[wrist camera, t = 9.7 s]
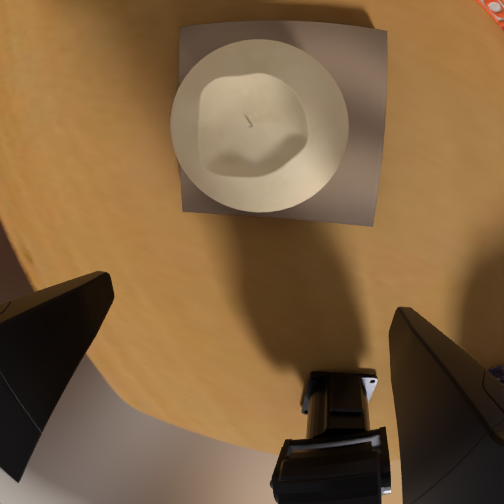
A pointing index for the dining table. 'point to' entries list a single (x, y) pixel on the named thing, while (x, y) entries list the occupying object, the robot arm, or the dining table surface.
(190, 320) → the dining table surface
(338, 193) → the grey square slab
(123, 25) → the dining table surface
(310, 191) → the candle
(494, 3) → the stack of blocks
